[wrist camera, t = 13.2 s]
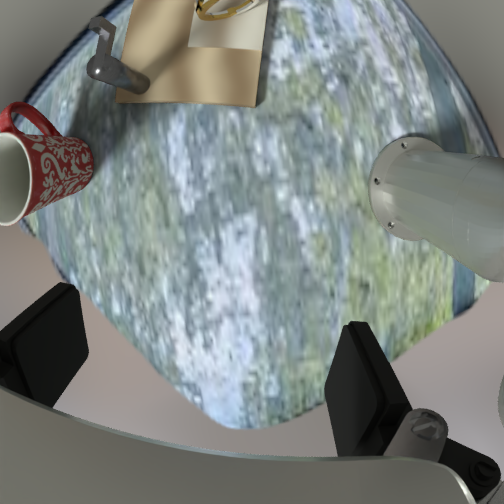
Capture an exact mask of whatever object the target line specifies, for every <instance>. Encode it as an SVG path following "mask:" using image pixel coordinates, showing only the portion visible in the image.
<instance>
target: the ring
mask: <svg viewBox="0 0 504 504" xmlns="http://www.w3.org/2000/svg"><path fill="white" fill-rule="evenodd" d="M218 1H220V0H209V1H207V2H205V3H204V4H203V2H204V0H195V4H194V8H195V11H196V13H197V15H198V17H199V19H201V20H204V21H214V20H221V19H225V18H229V17H230V18H232V17H235V16H237V15H238V14H240V13H243V12H245V11H247V10H248V9H250V8H252V7H253V6H254V5H256V4H257V3H258V2H259V1H260V0H247V1H246V2H244V3H243V4H241V5H239V6H237V7H235V8H234V7H231V8H228V9H227V10H226V11H222V12H216V13H208V12H206V11H207V10H208V9H209V8H211V7H212V6H213V5H214V4H216V3H217V2H218ZM202 4H203V5H202Z"/></svg>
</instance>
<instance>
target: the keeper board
mask: <svg viewBox="0 0 504 504" xmlns="http://www.w3.org/2000/svg"><path fill="white" fill-rule="evenodd" d="M207 1H209V0H204V2H203V4H204V3H205V2H207ZM246 1H247V0H220V1H218V2H217V3H216V4H214V5H213V6H212V7H211V8H209V9H208V10H207V11H206V12H208V13H216V12H222V11H226V10H227V9H228V8H231V7H234V8H235V7H237V6H239V5H241V4H243V3H244V2H246ZM268 3H269V0H260V1H259V2H258V3H257V4H256V5H254V6H253V7H252V8H250V9H248V10H247V11H245V12H243V13H240V14H238V15H237V16H235V17H232V18H230V17H229V18H225V19H221V20H214V21H204V20H201V19H199V17H198V15H197V13H196V11H195V8H194V4H195V0H134V3H133V7H132V11H131V15H130V19H129V24H128V28H127V33H126V37H125V42H124V47H123V53H122V58H121V62H123V63H125V64H127V65H128V66H130V67H132V68H134V69H135V70H137V71H139V72H141V73H142V74H144V75H146V76H147V77H148V78H149V79H150V87H149V89H148V90H147V91H146V92H145V93H143V94H140V95H137V94H134V93H132V92H129V91H126V90H124V89H121V88H118V87H117V89H116V97H115V102H116V103H120V104H123V103H192V104H213V105H227V106H239V107H250V108H255V106H256V98H257V89H258V81H259V73H260V65H261V57H262V49H263V41H264V34H265V26H266V18H267V11H268ZM203 4H202V5H203Z"/></svg>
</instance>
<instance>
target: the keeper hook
mask: <svg viewBox="0 0 504 504" xmlns="http://www.w3.org/2000/svg"><path fill="white" fill-rule="evenodd" d="M89 29H90V30H92V31H94V32H95V33H97V34H99V35H100V36H99V40H98V45H97V50H96V54H95V55H94V56H93V57H92V58H91V59H90V60H89V62H88V64H87V74H88V76H89V77H91V78H93V79H96V80H99V81H102V82H105V83H108V84H110V85H113V86H116V87H118V88H121V89H124V90H126V91H129V92H132V93H134V94H137V95H140V94H143V93H145V92H146V91H147V90H148V89H149V87H150V79H149V78H148V77H147V76H146V75H144V74H142V73H141V72H139V71H137V70H135V69H134V68H132V67H130V66H128V65H127V64H125V63H123V62H121V61H119V60H117V59H116V58H114V57H112V56H111V51H112V46H113V41H114V36H115V31H116V26H114V25H113V24H112V23H110V22H109V21H108V20H106V19H105V18H103V17H102V16H100V17H95V18H91V21H90V25H89Z"/></svg>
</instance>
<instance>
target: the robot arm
mask: <svg viewBox="0 0 504 504" xmlns="http://www.w3.org/2000/svg"><path fill="white" fill-rule="evenodd" d="M401 144H403V147H401ZM375 178H376V179H377V181H376V182H374V179H375ZM368 195H369V202H370V205H371V208H372V211H373V213H374V215H375V217H376V219H377V220H378V222H379V223H380V224H381V225H382V227H384V228H385V229H386V230H387V231H388V232H390V233H391V234H393V235H394V236H396V237H398V238H401V239H403V240H410V241H417V240H422V239H425V240H427V241H428V242H430V243H431V244H433V245H434V246H436V247H437V248H439V249H441V250H442V251H444V252H445V253H447V254H448V255H450V256H451V257H453V258H454V259H455V260H457V261H458V262H460V263H461V264H463V265H464V266H466V267H467V268H469V269H470V270H472V271H473V272H474V273H476V274H477V275H479V276H481V277H482V278H484V279H487V280H489V281H493V282H502V283H503V282H504V158H499V157H491V156H483V155H474V154H465V153H454V152H445V151H444V150H443V149H442V148H441V147H440V146H438V145H437V144H436V143H434V142H432V141H430V140H428V139H426V138H421V137H405V138H400V139H398V140H396V141H393V142H392V143H390V144H389V145H387V146H386V147H385V148H384V149H383V150H382V151H381V152H380V153H379V155H378V156H377V158H376V160H375V161H374V163H373V166H372V169H371V171H370V176H369V181H368ZM389 222H390V225H388V223H389ZM88 353H89V349H88V344H87V338H86V333H85V328H84V321H83V315H82V308H81V301H80V294H79V291H78V290H77V289H76V287H75V286H74V285H72V284H67V283H63V282H60V283H58V284H57V285H56V286H54V287H53V288H52V289H50V290H49V291H48V292H47V293H45V294H44V295H43V296H42V297H40V298H39V299H38V300H37V301H35V302H34V303H33V304H32V305H30V306H29V307H28V308H27V309H25V310H24V311H23V312H22V313H21V314H19V315H18V316H17V317H16V318H15V319H14V320H13V321H11V322H10V323H9V324H8V325H7V326H5V327H4V328H3V329H2V330H1V331H0V504H504V481H501V480H500V479H501V472H500V468H499V467H498V464H497V463H496V462H495V461H494V460H493V459H491V458H490V457H488V456H486V455H484V454H481V453H479V452H477V451H475V450H472V449H470V448H468V447H466V446H464V445H462V444H460V443H458V442H456V441H453V440H451V439H449V438H447V436H448V426H447V423H446V421H445V420H444V418H443V417H441V416H440V415H439V414H438V413H436V412H434V411H432V410H429V409H421V408H419V409H414V410H413V409H412V407H411V405H410V403H409V401H408V399H407V397H406V395H405V393H404V391H403V389H402V387H401V385H400V383H399V381H398V379H397V377H396V375H395V373H394V371H393V369H392V367H391V365H390V363H389V362H388V360H387V358H386V356H385V354H384V353H383V351H382V349H381V347H380V345H379V343H378V341H377V339H376V338H375V336H374V334H373V332H372V330H371V328H370V327H369V325H368V323H367V322H359V321H350V322H349V324H348V325H344V326H343V329H342V332H341V336H340V339H339V342H338V346H337V349H336V352H335V355H334V358H333V362H332V365H331V368H330V371H329V374H328V377H327V380H326V383H325V388H324V392H325V397H326V402H327V407H328V411H329V416H330V420H331V425H332V429H333V435H334V440H335V444H336V449H337V454H338V457H294V456H269V455H255V454H244V453H234V452H225V451H217V450H210V449H203V448H196V447H191V446H185V445H179V444H174V443H169V442H164V441H160V440H155V439H150V438H146V437H142V436H138V435H133V434H130V433H126V432H122V431H119V430H115V429H112V428H109V427H105V426H102V425H99V424H95V423H92V422H89V421H86V420H83V419H80V418H77V417H74V416H72V415H69V414H66V413H63V412H61V411H58V410H56V409H53V406H54V405H55V403H56V402H57V400H58V399H59V397H60V396H61V395H62V393H63V392H64V390H65V389H66V387H67V386H68V384H69V383H70V382H71V380H72V379H73V377H74V376H75V375H76V373H77V372H78V370H79V369H80V368H81V366H82V365H83V363H84V362H85V361H86V359H87V357H88ZM498 412H499V416H500V420H501V422H502V425H503V427H504V376H503V379H502V382H501V386H500V390H499V396H498Z"/></svg>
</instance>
